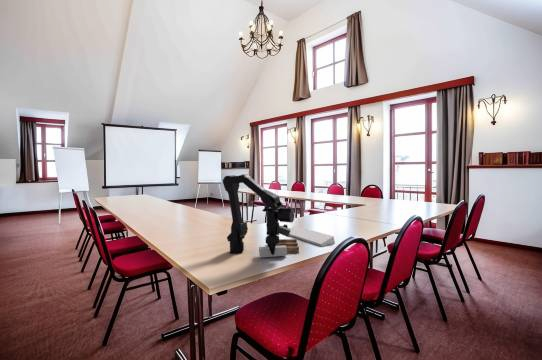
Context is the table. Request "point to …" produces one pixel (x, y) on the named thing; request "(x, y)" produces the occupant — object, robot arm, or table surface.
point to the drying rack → (289, 245)
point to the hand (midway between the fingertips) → (272, 253)
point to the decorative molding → (311, 236)
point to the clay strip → (278, 252)
